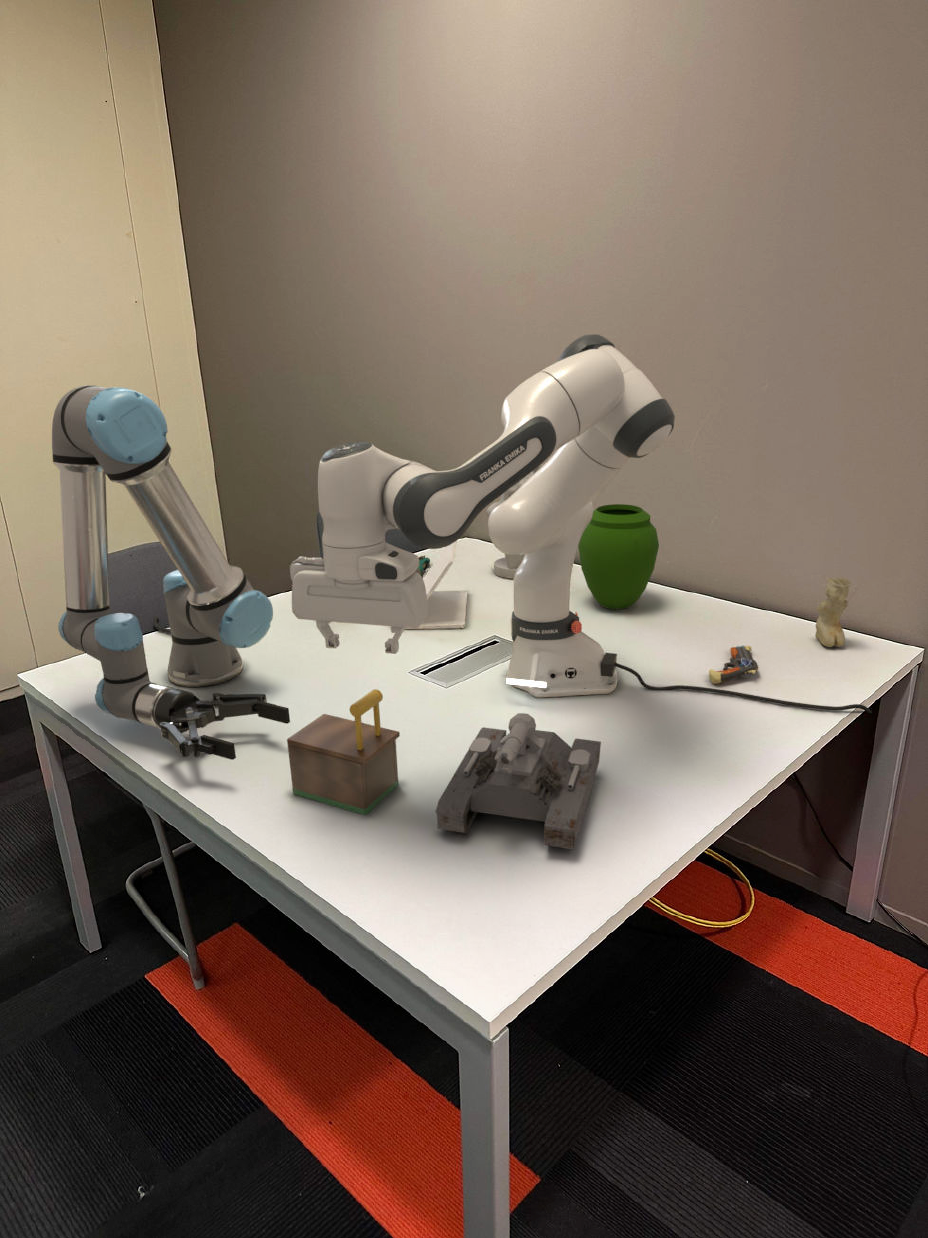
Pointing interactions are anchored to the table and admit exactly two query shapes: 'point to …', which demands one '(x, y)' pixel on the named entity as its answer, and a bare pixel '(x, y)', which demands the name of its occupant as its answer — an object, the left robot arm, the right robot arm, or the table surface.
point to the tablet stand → (443, 596)
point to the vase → (618, 554)
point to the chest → (343, 778)
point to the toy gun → (735, 665)
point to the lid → (348, 733)
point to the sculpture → (832, 613)
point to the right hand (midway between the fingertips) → (362, 649)
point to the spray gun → (422, 564)
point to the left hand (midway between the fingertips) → (261, 733)
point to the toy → (522, 780)
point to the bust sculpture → (510, 562)
